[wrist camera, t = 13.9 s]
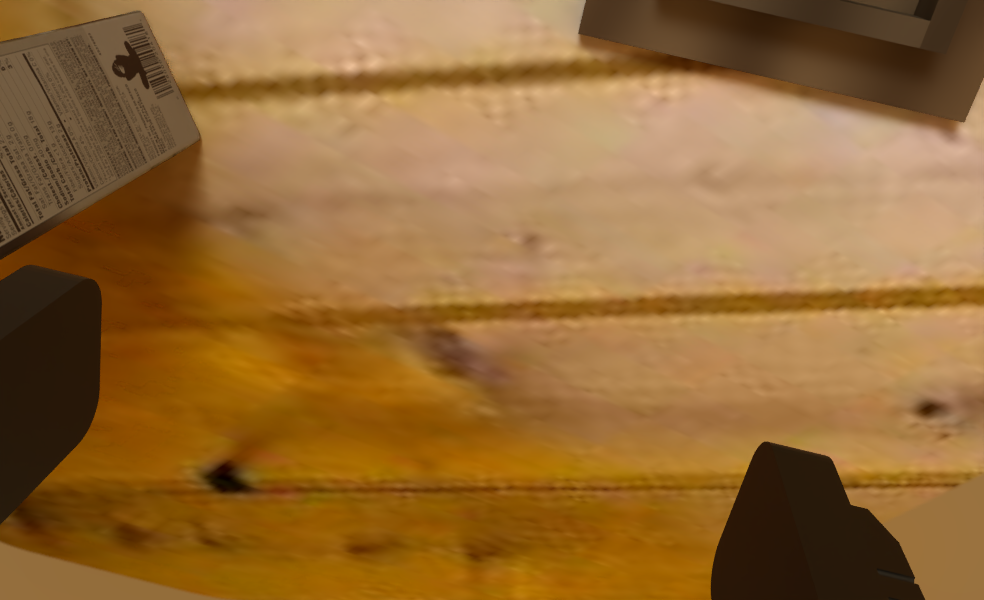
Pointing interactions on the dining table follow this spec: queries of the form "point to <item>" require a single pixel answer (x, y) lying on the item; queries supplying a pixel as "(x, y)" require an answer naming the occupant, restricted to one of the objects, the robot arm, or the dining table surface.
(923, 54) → the tray
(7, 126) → the coffee box
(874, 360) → the dining table surface
